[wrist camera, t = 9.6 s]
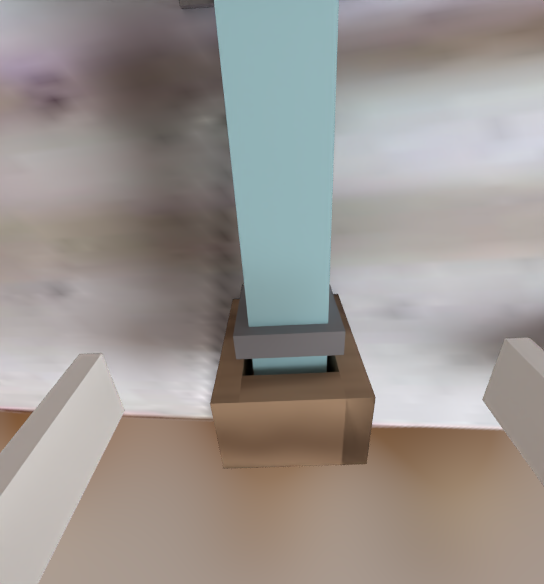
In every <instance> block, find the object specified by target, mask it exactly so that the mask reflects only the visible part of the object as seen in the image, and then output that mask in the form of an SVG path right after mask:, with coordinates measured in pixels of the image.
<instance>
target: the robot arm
mask: <svg viewBox="0 0 544 584" xmlns="http://www.w3.org/2000/svg"><path fill="white" fill-rule="evenodd" d="M482 400H483V401H484V403H485V404H486V406H487V407H488V408H489V410H490V411H491V413H492V414H493V415H494V417H495V418H496V420H497V421H498V423H499V424H500V425H501V427H502V428H503V430H504V431H505V432H506V434H507V435H508V437H509V438H510V439H511V441H512V442H513V444H514V445H515V447H516V448H517V449H518V451H519V452H520V454H521V455H522V456H523V458H524V459H525V461H526V462H527V463H528V465H529V466H530V467H531V469H532V471H533V472H534V473H535V475H536V476H537V478H538V479H539V480H540V482H541V483H542V484H543V486H544V350H543V349H542V348H540V347H539V346H538V345H537V344H536V343H535V342H534V341H533V340H532V339H531V338H505V339H504V342H503V345H502V347H501V350H500V353H499V356H498V358H497V361H496V364H495V366H494V369H493V372H492V375H491V377H490V380H489V383H488V386H487V388H486V391H485V394H484V396H483V399H482ZM124 411H125V410H124V407H123V405H122V402H121V400H120V397H119V395H118V392H117V390H116V387H115V385H114V382H113V380H112V377H111V375H110V372H109V369H108V367H107V364H106V362H105V359H104V357H103V354H102V353H92V354H79V355H78V357H77V358H76V359H75V360H74V362H73V363H72V364H71V365H70V367H69V368H68V369H67V370H66V372H65V373H64V374H63V375H62V377H61V378H60V379H59V380H58V382H57V383H56V384H55V385H54V387H53V388H52V389H51V390H50V392H49V393H48V394H47V395H46V397H45V398H44V399H43V400H42V402H41V403H40V404H39V405H38V407H37V408H36V409H35V410H34V412H33V413H32V414H31V415H30V417H29V418H28V419H27V420H26V422H25V423H24V424H23V425H22V427H21V428H20V429H19V430H18V432H17V433H16V434H15V435H14V437H13V438H12V439H11V440H10V442H9V443H8V444H7V446H6V447H5V448H4V449H3V450H2V452H1V453H0V584H38V583H39V581H40V579H41V577H42V575H43V573H44V570H45V568H46V567H47V565H48V563H49V561H50V559H51V557H52V555H53V553H54V551H55V549H56V547H57V545H58V543H59V541H60V538H61V537H62V535H63V533H64V531H65V529H66V526H67V525H68V523H69V521H70V519H71V517H72V515H73V513H74V511H75V509H76V507H77V505H78V502H79V501H80V499H81V497H82V494H83V493H84V491H85V489H86V487H87V485H88V483H89V481H90V479H91V477H92V475H93V473H94V471H95V469H96V467H97V465H98V463H99V461H100V459H101V457H102V454H103V453H104V451H105V449H106V447H107V445H108V443H109V441H110V439H111V437H112V435H113V433H114V431H115V429H116V427H117V425H118V423H119V421H120V419H121V417H122V415H123V413H124Z"/></svg>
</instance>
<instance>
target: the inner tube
mask: <svg viewBox="0 0 544 584" xmlns="http://www.w3.org/2000/svg"><path fill="white" fill-rule="evenodd" d="M214 7H215V16H216V25H217V35H218V44H219V53H220V63H221V72H222V81H223V91H224V100H225V109H226V119H227V128H228V137H229V147H230V156H231V165H232V175H233V184H234V193H235V203H236V212H237V221H238V231H239V240H240V249H241V259H242V268H243V277H244V285H242V289H241V294H240V300H239V305H238V311H237V317H236V322H235V328H234V333H233V340H234V347H235V354H236V359H252V361H253V371H254V375H274V374H299V373H324V372H327V356H331V355H344V347H345V328H344V325H343V322H342V319H341V316H340V313H339V310H338V307H337V305H336V302H335V299H334V296H333V293H332V290H331V287H330V284H329V282H330V251H331V221H332V191H333V160H334V130H335V100H336V69H337V39H338V9H339V0H214Z"/></svg>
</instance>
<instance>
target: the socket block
mask: <svg viewBox="0 0 544 584" xmlns="http://www.w3.org/2000/svg"><path fill="white" fill-rule="evenodd" d="M333 296H334V299H335V302H336V305H337V307H338V310H339V313H340V316H341V319H342V322H343V325H344V328H345V347H344V355H331V356H327V372H324V373H299V374H274V375H254V371H253V361H252V359H236V354H235V347H234V340H233V333H234V328H235V322H236V317H237V311H238V305H239V300H240V299H233V301H232V305H231V310H230V315H229V319H228V324H227V329H226V333H225V338H224V342H223V347H222V352H221V356H220V361H219V366H218V370H217V375H216V380H215V384H214V389H213V393H212V398H211V403H210V405H211V410H212V415H213V420H214V425H215V429H216V434H217V439H218V444H219V449H220V454H221V459H222V464H223V468H224V469H225V468H227V469H228V468H258V467H286V466H287V467H290V466H320V465H349V464H367V456H368V449H369V442H370V434H371V427H372V419H373V412H374V404H375V395H374V392H373V389H372V387H371V384H370V381H369V378H368V376H367V373H366V370H365V367H364V365H363V362H362V359H361V356H360V354H359V351H358V348H357V345H356V343H355V340H354V337H353V334H352V332H351V329H350V326H349V323H348V321H347V318H346V315H345V312H344V310H343V307H342V304H341V301H340V299H339V296H338V294H337V295H333Z"/></svg>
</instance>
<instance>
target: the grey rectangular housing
mask: <svg viewBox="0 0 544 584" xmlns="http://www.w3.org/2000/svg"><path fill="white" fill-rule="evenodd" d="M179 4H180V7H181V8H182V9H188V8H202V7H214V0H179Z"/></svg>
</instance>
